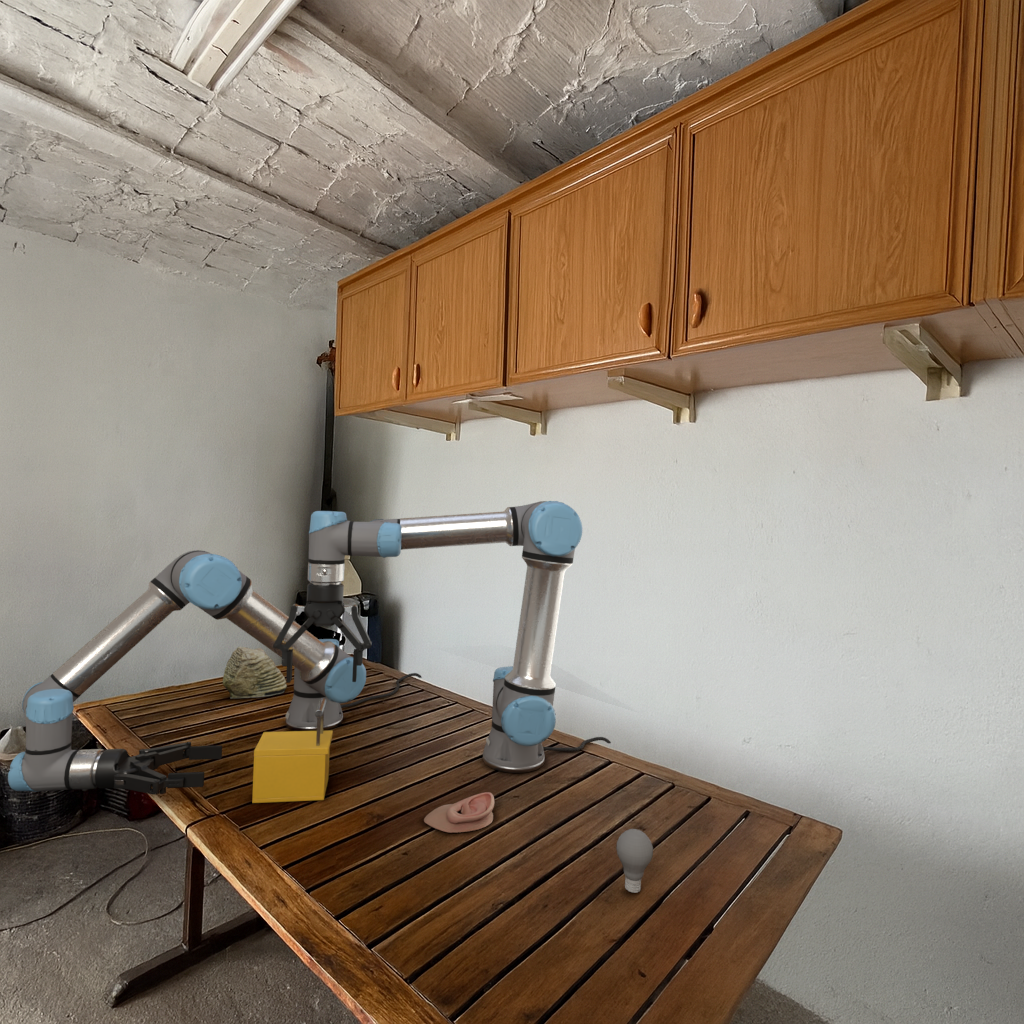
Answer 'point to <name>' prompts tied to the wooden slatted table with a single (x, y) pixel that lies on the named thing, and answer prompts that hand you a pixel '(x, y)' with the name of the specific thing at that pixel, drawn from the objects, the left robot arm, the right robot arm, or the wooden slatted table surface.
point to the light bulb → (634, 857)
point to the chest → (290, 778)
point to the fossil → (252, 674)
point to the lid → (297, 739)
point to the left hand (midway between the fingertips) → (213, 765)
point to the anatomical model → (463, 814)
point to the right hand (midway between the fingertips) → (322, 680)
